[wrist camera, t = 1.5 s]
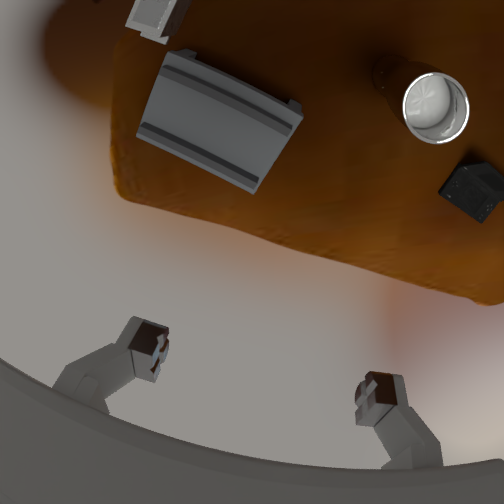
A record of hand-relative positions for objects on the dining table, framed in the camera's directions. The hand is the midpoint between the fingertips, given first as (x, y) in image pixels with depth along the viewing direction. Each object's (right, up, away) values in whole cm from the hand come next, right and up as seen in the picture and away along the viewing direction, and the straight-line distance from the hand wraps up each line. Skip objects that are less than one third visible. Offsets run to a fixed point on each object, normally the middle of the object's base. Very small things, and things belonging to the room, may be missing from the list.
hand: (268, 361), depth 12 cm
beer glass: (+17, +26, +20) cm, 37 cm away
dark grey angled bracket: (+34, +15, +27) cm, 46 cm away
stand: (-4, +23, +27) cm, 36 cm away
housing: (-10, +36, +17) cm, 41 cm away
